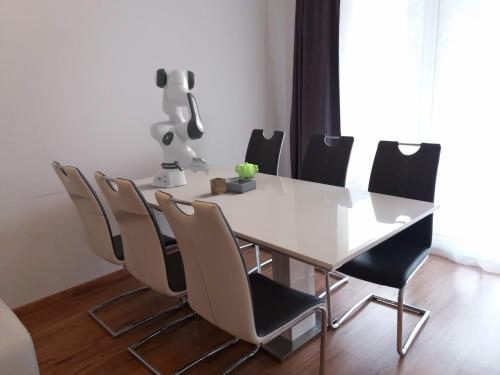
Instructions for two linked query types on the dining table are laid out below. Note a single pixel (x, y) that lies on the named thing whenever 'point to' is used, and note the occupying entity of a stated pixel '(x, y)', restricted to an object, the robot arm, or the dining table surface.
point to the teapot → (246, 170)
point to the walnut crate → (218, 186)
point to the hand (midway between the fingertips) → (202, 172)
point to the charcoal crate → (241, 185)
